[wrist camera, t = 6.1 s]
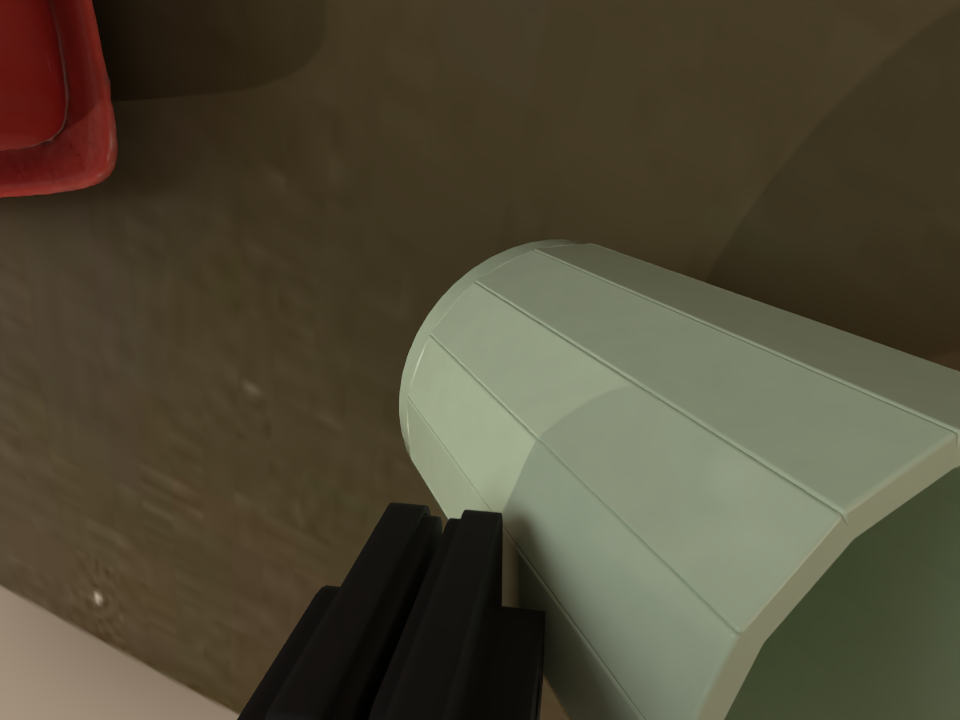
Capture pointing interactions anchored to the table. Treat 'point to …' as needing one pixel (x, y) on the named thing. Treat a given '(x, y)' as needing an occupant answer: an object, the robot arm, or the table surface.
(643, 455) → the cup
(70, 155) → the butter dish
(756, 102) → the table surface
